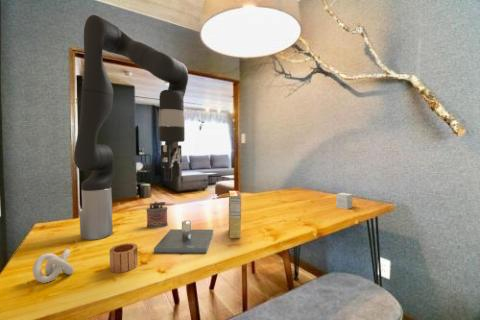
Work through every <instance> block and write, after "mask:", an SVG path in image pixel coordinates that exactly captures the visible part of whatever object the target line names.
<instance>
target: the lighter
mask: <svg viewBox="0 0 480 320" xmlns="http://www.w3.org/2000/svg"><path fill="white" fill-rule="evenodd" d="M168 226H169V225H168V206H166V201H159V202H158V201H154V202H149V207H148V208H146V228H147V229H156V228H157V229H158V228H165V227H168Z"/></svg>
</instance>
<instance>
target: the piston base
mask: <svg viewBox="0 0 480 320" xmlns="http://www.w3.org/2000/svg"><path fill="white" fill-rule="evenodd" d="M213 235H214V229H192V221H191V220H183V221H181V229H170V230H169V231H168V232H167V233H166V234H165V235H164V236H163V238H162V239H160V241H159V242H158V243H157V244H156V245H155V246H154V247H153V253H154V254H207V253H208V250H209V246H210V245H211V241H212V239H213Z"/></svg>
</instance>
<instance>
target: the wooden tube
mask: <svg viewBox="0 0 480 320" xmlns="http://www.w3.org/2000/svg"><path fill="white" fill-rule="evenodd" d="M138 252H139V251H138V244H136V243H133V242H127V243H125V242H124V243H120V244H116V245H114V246H112V247H111V248H110V249H109V271H110V272H111V273H114V274H122V273H126V272H129V271H132V270H134V269H136V268H137V267H138V265H139V260H138V259H139V258H138Z"/></svg>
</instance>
